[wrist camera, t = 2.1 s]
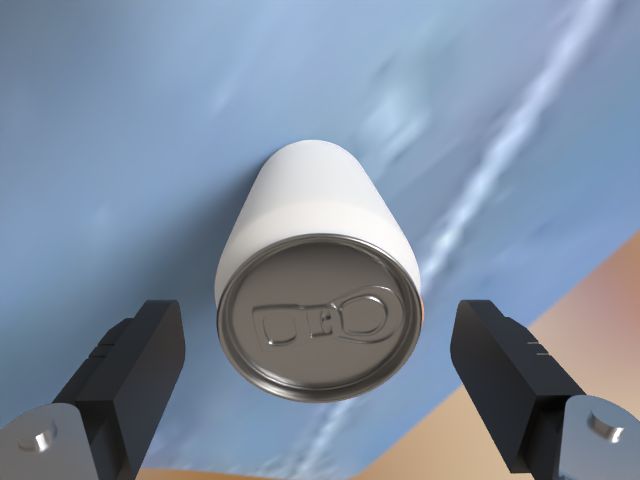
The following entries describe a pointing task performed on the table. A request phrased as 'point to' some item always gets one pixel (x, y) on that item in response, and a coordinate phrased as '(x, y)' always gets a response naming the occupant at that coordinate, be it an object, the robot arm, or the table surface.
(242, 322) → the can
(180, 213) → the table surface
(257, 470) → the table surface
